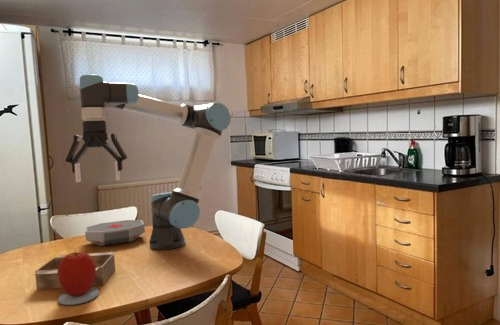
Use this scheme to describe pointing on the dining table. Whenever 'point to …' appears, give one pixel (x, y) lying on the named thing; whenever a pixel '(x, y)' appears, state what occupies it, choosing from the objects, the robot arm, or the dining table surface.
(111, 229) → the first aid kit
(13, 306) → the dining table surface
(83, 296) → the plate
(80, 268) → the apple
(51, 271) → the brown shallow open box
